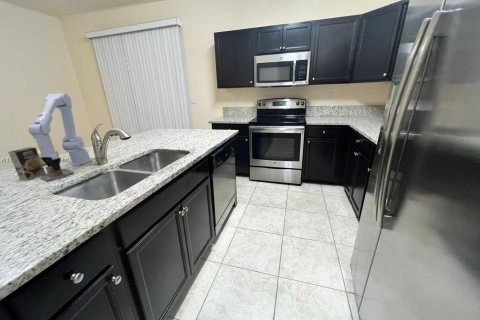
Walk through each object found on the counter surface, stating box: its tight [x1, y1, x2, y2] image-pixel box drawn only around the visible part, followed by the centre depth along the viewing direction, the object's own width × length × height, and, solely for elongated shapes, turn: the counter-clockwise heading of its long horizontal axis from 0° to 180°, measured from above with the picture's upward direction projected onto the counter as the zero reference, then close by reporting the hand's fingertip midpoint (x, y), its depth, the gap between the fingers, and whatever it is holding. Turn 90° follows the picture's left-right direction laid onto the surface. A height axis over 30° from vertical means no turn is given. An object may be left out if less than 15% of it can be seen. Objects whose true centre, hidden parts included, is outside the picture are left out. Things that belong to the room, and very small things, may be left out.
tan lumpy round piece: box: [37, 147, 60, 166], centre depth 136 cm, size 11×12×11 cm
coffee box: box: [8, 147, 47, 181], centre depth 112 cm, size 9×6×16 cm
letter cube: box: [44, 166, 63, 177], centre depth 113 cm, size 5×5×5 cm
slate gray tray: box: [38, 168, 75, 183], centre depth 114 cm, size 12×12×1 cm
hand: (54, 169), depth 113 cm, fingers open, 7 cm apart
